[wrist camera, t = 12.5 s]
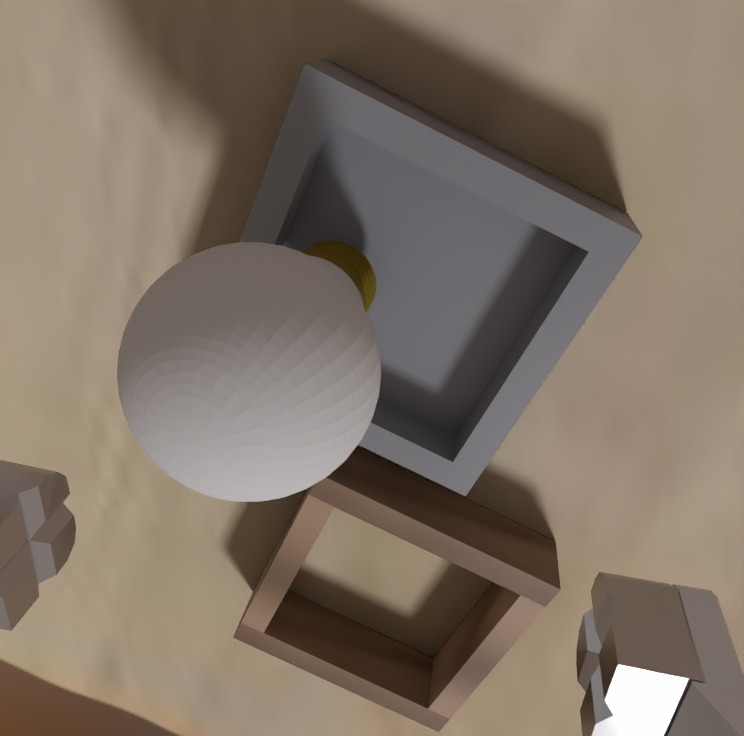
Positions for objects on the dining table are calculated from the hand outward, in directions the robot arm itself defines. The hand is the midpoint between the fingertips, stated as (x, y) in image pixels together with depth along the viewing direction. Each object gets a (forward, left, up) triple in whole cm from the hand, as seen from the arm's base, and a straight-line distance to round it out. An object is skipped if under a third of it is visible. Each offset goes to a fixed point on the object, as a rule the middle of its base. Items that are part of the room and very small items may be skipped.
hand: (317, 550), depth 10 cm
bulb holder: (+12, +5, -14) cm, 19 cm away
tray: (+1, 0, -14) cm, 14 cm away
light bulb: (+1, -2, -13) cm, 13 cm away
